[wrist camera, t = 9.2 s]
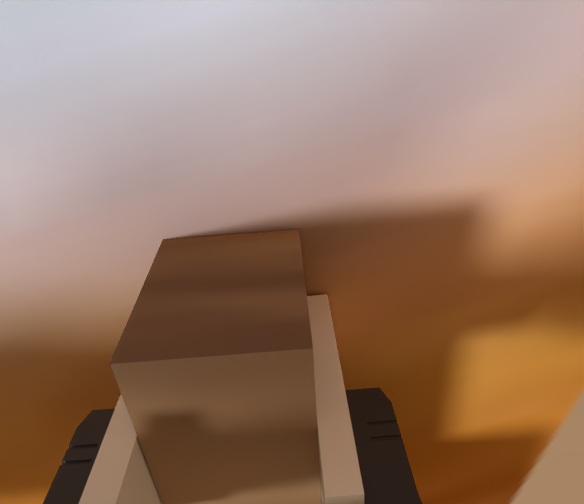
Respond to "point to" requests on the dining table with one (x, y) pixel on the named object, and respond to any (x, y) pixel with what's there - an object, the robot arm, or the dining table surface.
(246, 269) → the rail
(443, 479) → the dining table surface
